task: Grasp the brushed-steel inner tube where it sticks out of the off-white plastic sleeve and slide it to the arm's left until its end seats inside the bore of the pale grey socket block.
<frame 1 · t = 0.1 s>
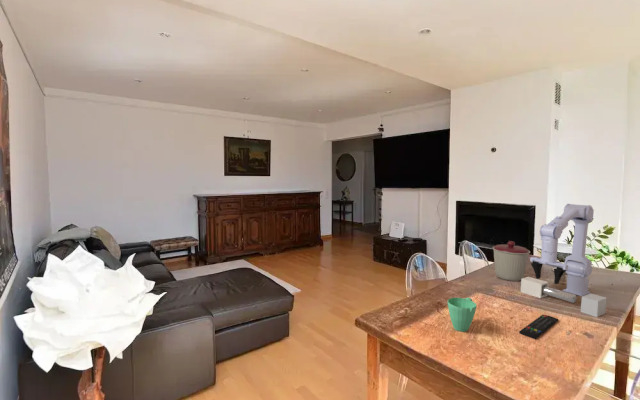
hand: (547, 281, 142), 10 cm above the table, fingers open, 7 cm apart
remote control: (539, 328, 119), on the table
socket: (592, 312, 132), on the table
tube: (546, 290, 148), point 3 cm above the table, slide at 0.0 cm
sleeve: (533, 293, 153), on the table
canister: (509, 278, 176), on the table
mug: (462, 326, 119), on the table
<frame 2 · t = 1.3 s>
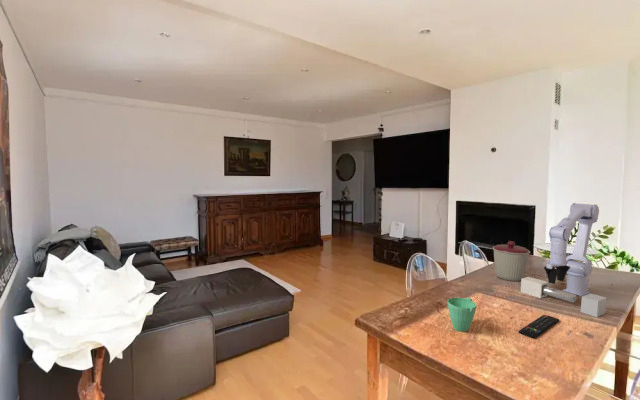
hand: (556, 281, 144), 9 cm above the table, fingers open, 7 cm apart
nothing on the table moved.
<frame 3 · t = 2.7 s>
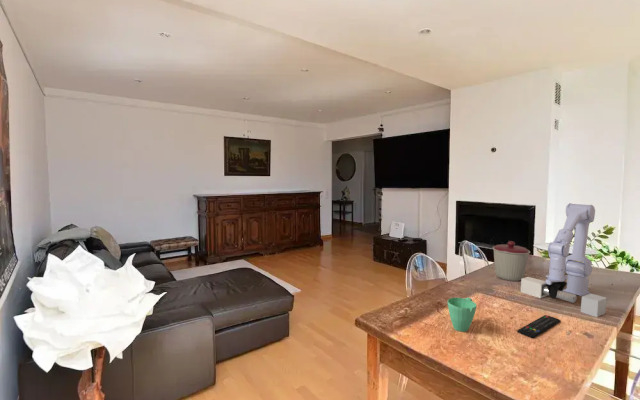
hand: (554, 297, 145), 2 cm above the table, fingers closed on tube, 3 cm apart
tube: (546, 290, 148), point 3 cm above the table, slide at 0.0 cm, touching gripper
everything else where it was.
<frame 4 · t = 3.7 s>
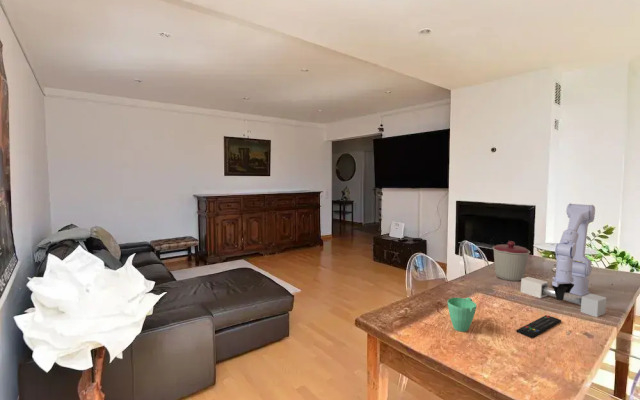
hand: (561, 299, 142), 2 cm above the table, fingers closed on tube, 4 cm apart
tube: (553, 292, 145), point 3 cm above the table, slide at 2.6 cm, touching gripper
everything else where it was.
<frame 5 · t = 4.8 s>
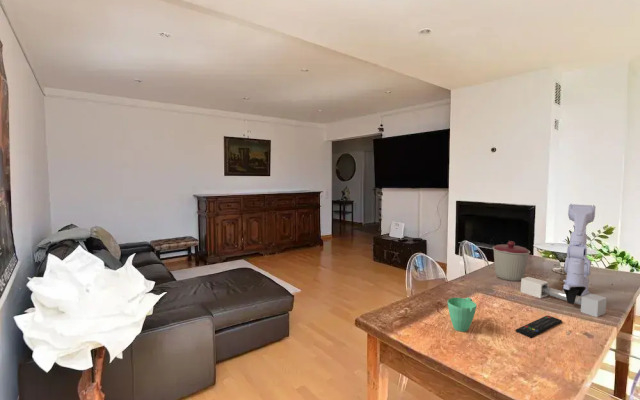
hand: (572, 302, 139), 2 cm above the table, fingers closed on tube, 3 cm apart
tube: (563, 295, 142), point 3 cm above the table, slide at 6.8 cm, touching gripper
everything else where it was.
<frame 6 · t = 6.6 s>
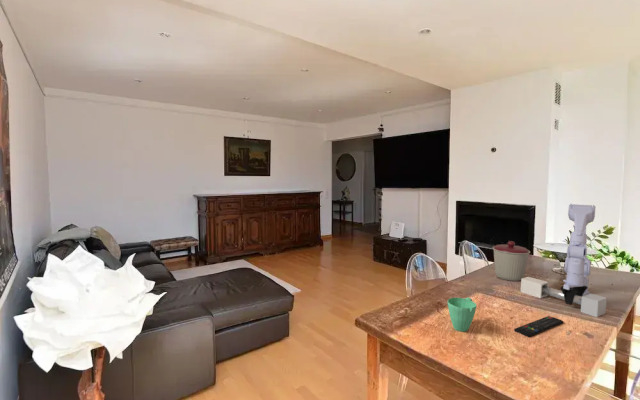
hand: (572, 302, 139), 2 cm above the table, fingers open, 7 cm apart
tube: (563, 295, 142), point 3 cm above the table, slide at 6.8 cm
everything else where it was.
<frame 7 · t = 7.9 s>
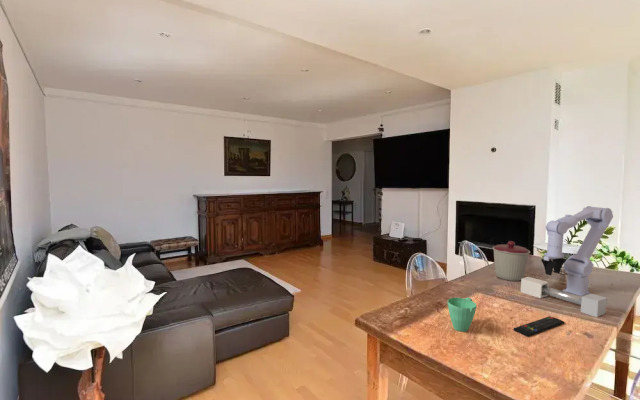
hand: (552, 273, 151), 10 cm above the table, fingers open, 7 cm apart
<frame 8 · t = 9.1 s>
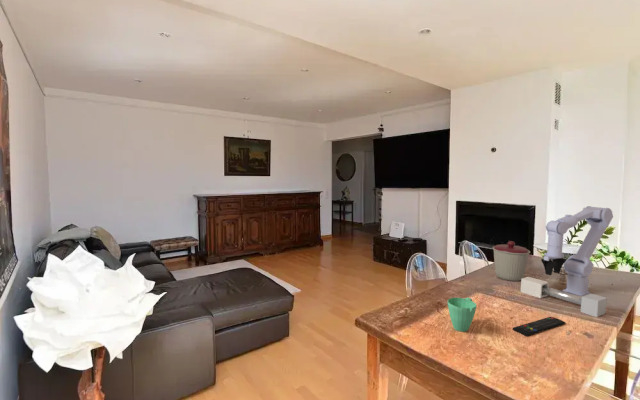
hand: (552, 273, 151), 10 cm above the table, fingers open, 7 cm apart
at the end: tube slide at 6.8 cm; the gripper is holding nothing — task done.
